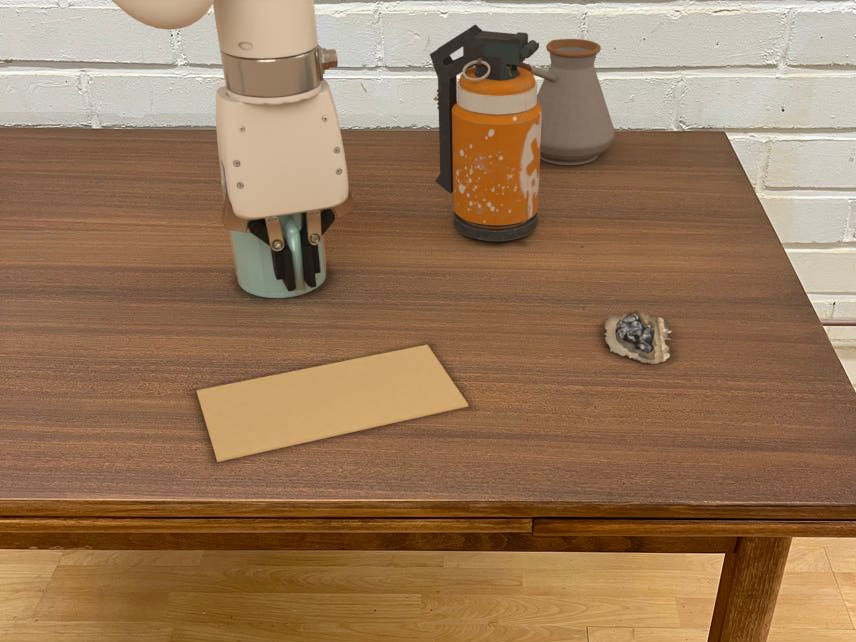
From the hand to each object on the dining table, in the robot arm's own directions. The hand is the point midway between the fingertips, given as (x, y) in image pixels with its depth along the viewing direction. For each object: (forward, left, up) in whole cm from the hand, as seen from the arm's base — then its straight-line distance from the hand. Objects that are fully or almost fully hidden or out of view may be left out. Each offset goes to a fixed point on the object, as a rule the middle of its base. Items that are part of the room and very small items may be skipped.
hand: (298, 281), depth 87 cm
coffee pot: (+36, +26, -3) cm, 44 cm away
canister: (+23, +11, -3) cm, 26 cm away
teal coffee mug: (0, +6, -3) cm, 6 cm away
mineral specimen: (+27, -16, -3) cm, 31 cm away
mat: (-1, -15, -3) cm, 15 cm away
